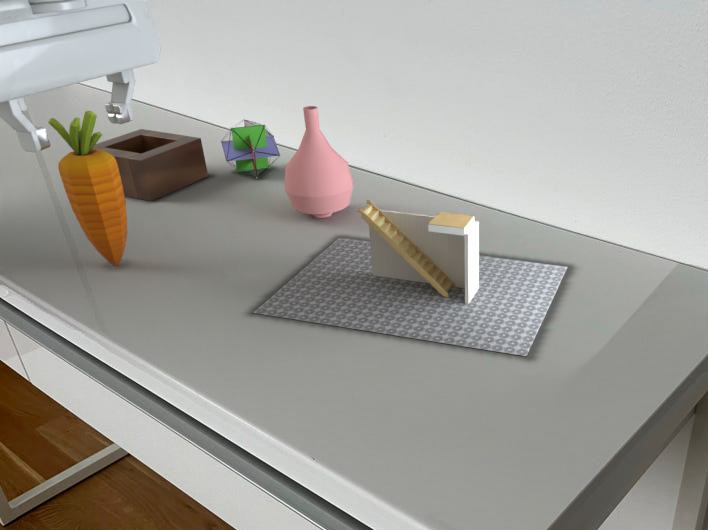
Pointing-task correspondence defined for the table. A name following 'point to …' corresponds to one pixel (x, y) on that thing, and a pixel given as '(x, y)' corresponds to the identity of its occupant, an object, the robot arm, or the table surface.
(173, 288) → the table surface
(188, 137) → the hole block
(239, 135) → the geometric puzzle
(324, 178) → the pink vase
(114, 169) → the carrot
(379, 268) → the model
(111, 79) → the robot arm
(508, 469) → the table surface
